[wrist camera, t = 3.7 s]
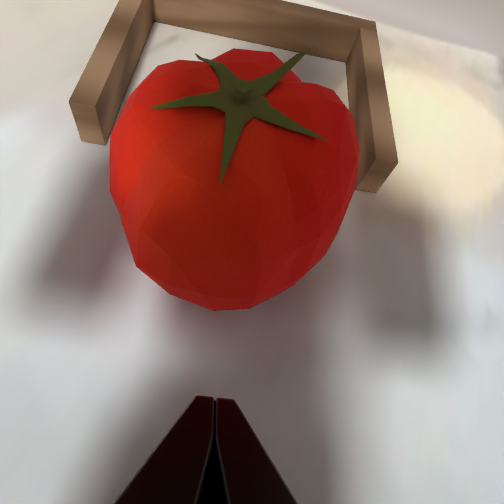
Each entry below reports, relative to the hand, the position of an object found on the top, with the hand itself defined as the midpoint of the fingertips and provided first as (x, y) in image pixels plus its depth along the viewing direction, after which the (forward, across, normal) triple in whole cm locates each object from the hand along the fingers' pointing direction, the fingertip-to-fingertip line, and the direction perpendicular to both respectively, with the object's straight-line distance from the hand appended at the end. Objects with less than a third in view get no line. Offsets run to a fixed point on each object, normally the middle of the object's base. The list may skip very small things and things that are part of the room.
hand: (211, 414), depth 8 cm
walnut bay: (+18, 0, -9) cm, 21 cm away
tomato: (+11, 0, -1) cm, 11 cm away
